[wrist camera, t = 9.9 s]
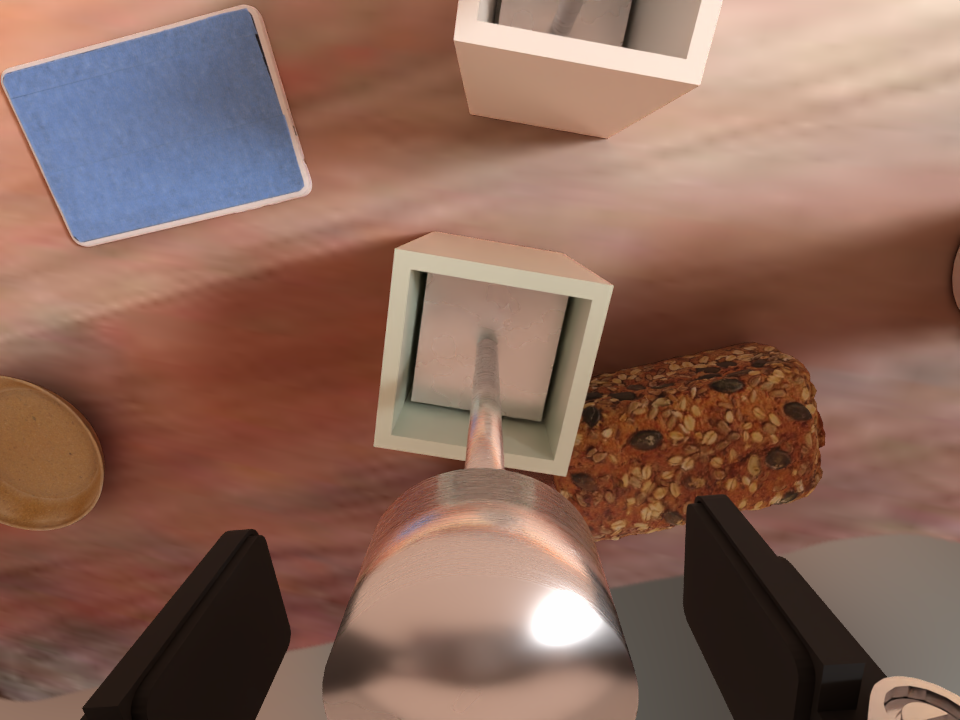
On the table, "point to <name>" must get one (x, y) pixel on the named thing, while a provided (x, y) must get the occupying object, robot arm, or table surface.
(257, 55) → the tablet computer
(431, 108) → the table surface
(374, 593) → the silver rod piece
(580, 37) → the plunger white
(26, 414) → the plant saucer
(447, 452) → the press sage
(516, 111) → the press white
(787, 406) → the bread
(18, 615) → the table surface
